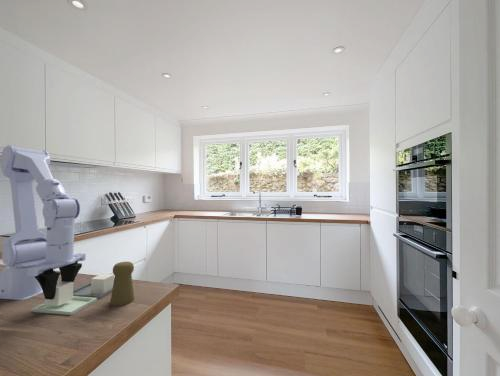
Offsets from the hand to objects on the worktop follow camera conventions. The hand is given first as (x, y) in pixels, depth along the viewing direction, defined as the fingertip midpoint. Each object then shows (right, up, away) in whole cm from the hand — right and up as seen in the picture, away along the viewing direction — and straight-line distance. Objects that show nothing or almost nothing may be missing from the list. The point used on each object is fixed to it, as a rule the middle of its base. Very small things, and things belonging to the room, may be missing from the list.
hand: (58, 295), depth 62 cm
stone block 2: (+6, -3, +9) cm, 11 cm away
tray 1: (+2, -3, 0) cm, 4 cm away
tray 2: (+4, -4, +9) cm, 10 cm away
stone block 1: (0, -2, 0) cm, 2 cm away
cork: (+16, -4, +3) cm, 16 cm away
